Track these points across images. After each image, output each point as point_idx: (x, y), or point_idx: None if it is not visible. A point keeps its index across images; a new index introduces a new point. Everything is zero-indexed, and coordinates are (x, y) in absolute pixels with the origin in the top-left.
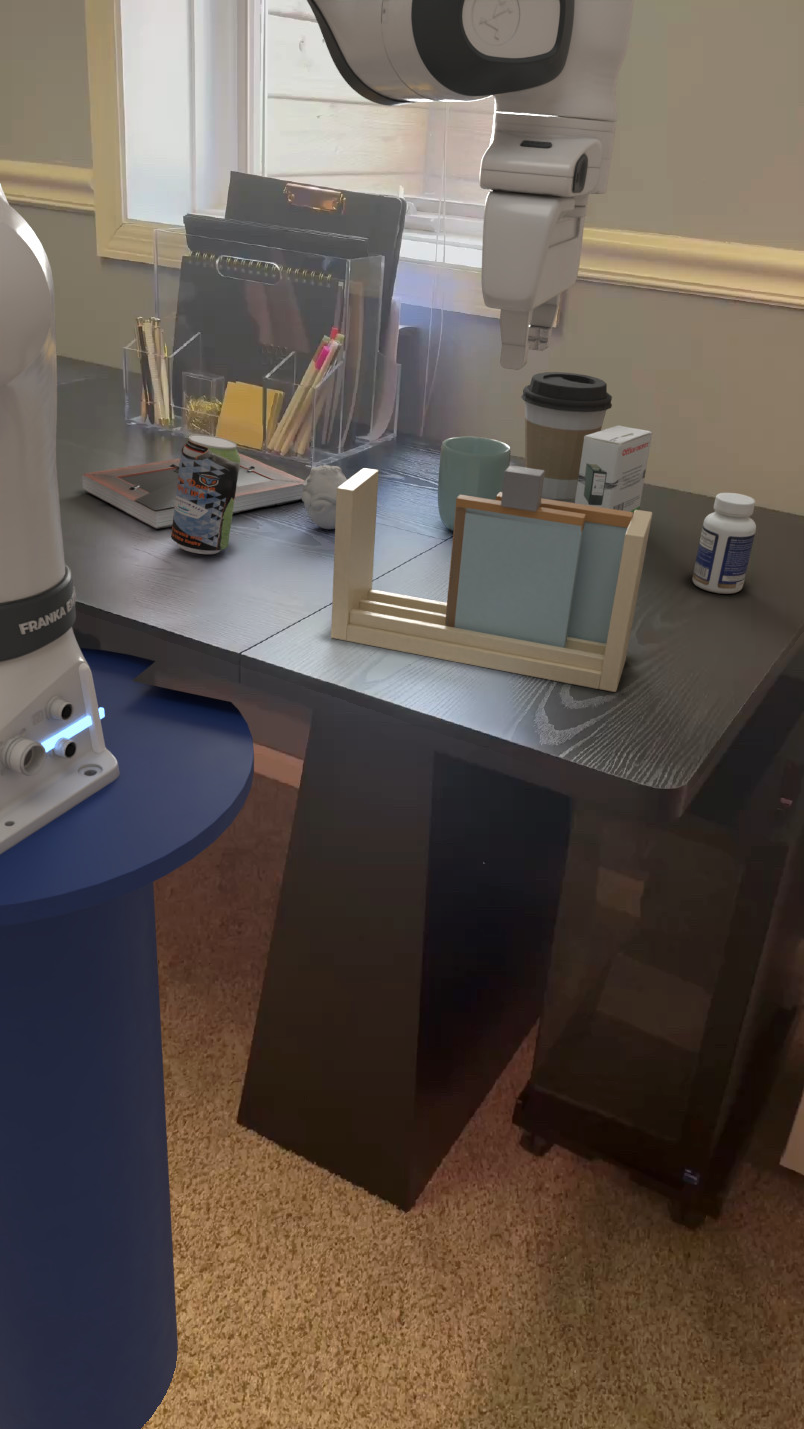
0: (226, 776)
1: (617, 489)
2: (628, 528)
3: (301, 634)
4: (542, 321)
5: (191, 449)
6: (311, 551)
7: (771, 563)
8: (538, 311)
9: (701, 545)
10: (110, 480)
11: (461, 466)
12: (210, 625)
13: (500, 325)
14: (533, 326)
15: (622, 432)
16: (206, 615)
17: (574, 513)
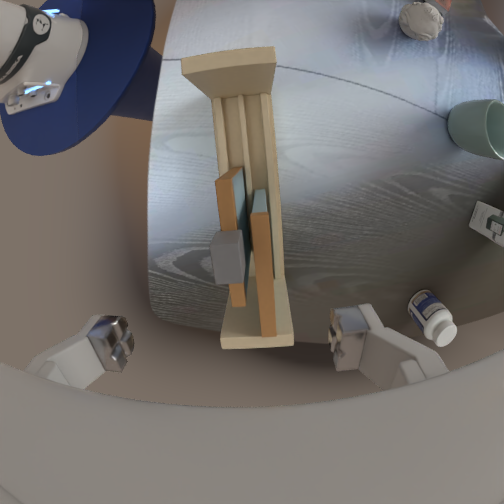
0: (71, 134)
1: (493, 240)
2: (235, 338)
3: None
4: (371, 359)
5: None
6: (360, 25)
7: (454, 318)
8: (391, 361)
9: (430, 305)
10: None
11: (476, 119)
12: (191, 23)
13: (42, 352)
14: (356, 340)
15: None
16: (204, 14)
17: (241, 297)
